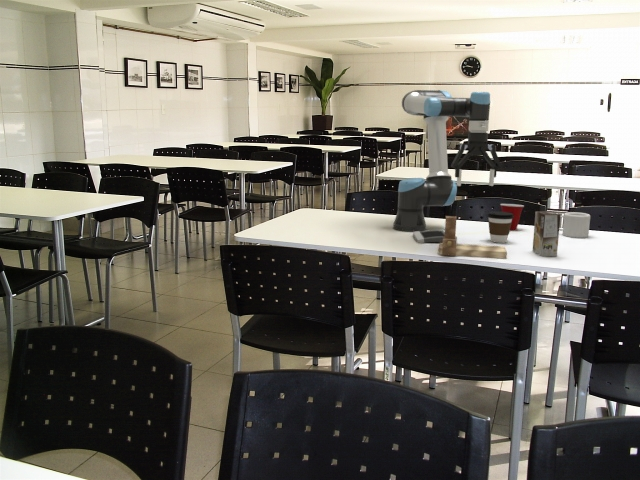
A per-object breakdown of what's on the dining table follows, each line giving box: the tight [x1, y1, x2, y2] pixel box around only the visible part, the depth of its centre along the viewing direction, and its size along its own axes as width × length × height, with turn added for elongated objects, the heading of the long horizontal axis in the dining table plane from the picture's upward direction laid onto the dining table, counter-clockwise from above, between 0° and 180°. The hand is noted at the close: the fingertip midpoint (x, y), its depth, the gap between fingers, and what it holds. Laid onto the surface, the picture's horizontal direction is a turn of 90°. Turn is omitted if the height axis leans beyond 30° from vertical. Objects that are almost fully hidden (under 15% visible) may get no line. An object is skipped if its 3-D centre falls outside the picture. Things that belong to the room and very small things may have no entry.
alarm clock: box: [412, 229, 458, 244], centre depth 262 cm, size 17×5×16 cm
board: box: [437, 242, 508, 259], centre depth 235 cm, size 25×10×3 cm, turn 77°
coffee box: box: [532, 210, 561, 257], centre depth 236 cm, size 9×6×16 cm
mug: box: [559, 211, 591, 239], centre depth 274 cm, size 14×11×10 cm
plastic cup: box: [499, 203, 525, 231], centre depth 287 cm, size 11×11×12 cm
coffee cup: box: [486, 210, 514, 244], centre depth 259 cm, size 11×11×12 cm
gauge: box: [442, 215, 458, 257], centre depth 235 cm, size 5×14×14 cm, turn 167°
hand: (474, 185), depth 246 cm, fingers open, 13 cm apart
